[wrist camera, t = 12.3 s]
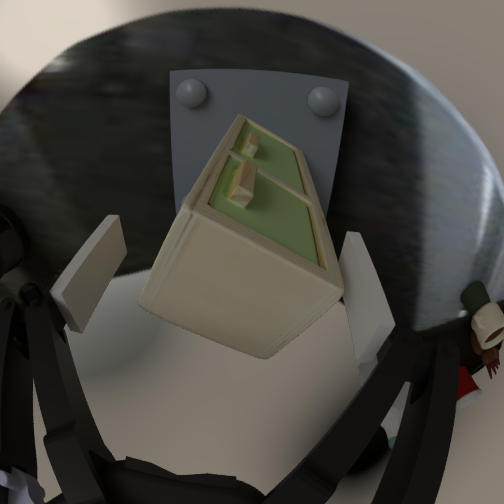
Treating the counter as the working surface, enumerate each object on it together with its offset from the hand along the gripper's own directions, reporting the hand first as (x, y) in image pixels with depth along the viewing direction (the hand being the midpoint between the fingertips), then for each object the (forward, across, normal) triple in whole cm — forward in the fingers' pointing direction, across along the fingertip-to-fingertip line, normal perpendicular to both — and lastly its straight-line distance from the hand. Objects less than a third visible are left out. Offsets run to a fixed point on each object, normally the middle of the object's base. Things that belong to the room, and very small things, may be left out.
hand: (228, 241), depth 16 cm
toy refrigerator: (+17, +1, 0) cm, 17 cm away
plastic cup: (+22, +68, -57) cm, 91 cm away
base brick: (+23, +1, 0) cm, 23 cm away
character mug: (+22, +47, -23) cm, 57 cm away
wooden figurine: (+22, +60, -35) cm, 73 cm away
